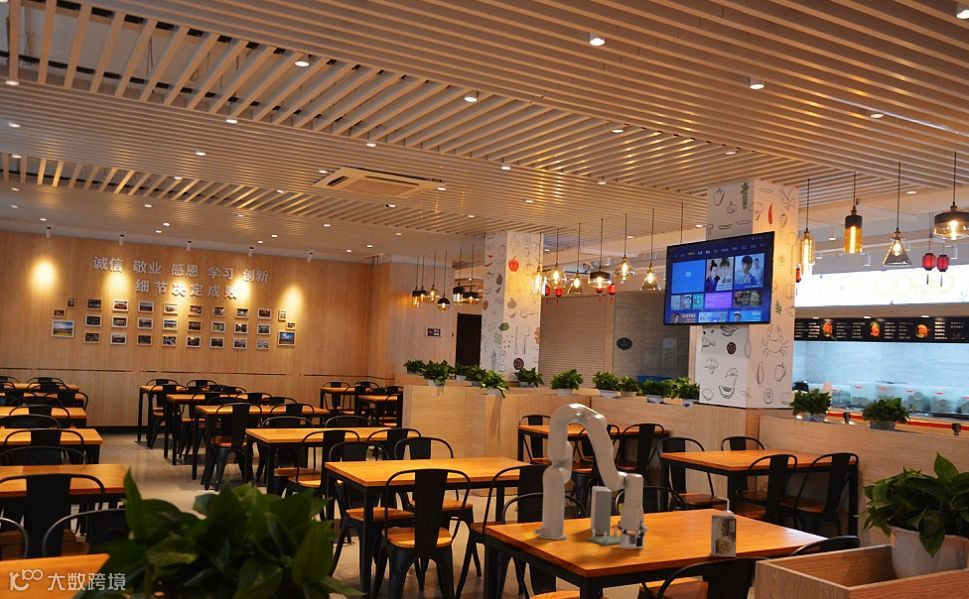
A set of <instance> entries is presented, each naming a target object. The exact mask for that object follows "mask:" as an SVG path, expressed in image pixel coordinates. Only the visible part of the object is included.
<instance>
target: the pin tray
mask: <svg viewBox="0 0 969 599" xmlns="http://www.w3.org/2000/svg"><path fill="white" fill-rule="evenodd" d="M617 531H618V527H617V526H614V527H613V534H612V535H607V533H604V535H601V536H597V537H596V534H595V529H593V532H592V537H587V540H588V542H591V543H594V542H595V543H594V544H597V543H598V545H600V546H605V547H607V546H606V545H608V546H613V545H614V544H616V545H619V544H620V535H618V534H617V533H618V532H617ZM629 531H630V530H628V531H627V533H629Z"/></svg>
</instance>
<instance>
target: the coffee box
mask: <svg viewBox="0 0 969 599" xmlns="http://www.w3.org/2000/svg"><path fill="white" fill-rule="evenodd" d="M736 518H737V517H736V516H735V517H733V516H724V515H720V514H712V515H711V527H710V528H711V529H710V530H711V532H710V533H711V534H710V535H711V536H710V553H711V555H712V556H714V557H727V558H729V557H730V558H731V557H732V558H735V557H737V521H738V518H737V519H736Z"/></svg>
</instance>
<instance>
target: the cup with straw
mask: <svg viewBox="0 0 969 599" xmlns="http://www.w3.org/2000/svg"><path fill="white" fill-rule="evenodd" d="M717 498H718V499H722V500H726V501H727V506H726V510H723V511H722V512H720V514H719V515H724V516H733V517H735V518H736V519H737V520H738V518H737V517H736V515H735V513H734V512H733V511H731V510H730V499H729V498H726V497H723V496H719V495H717V496H716V499H717Z"/></svg>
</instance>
